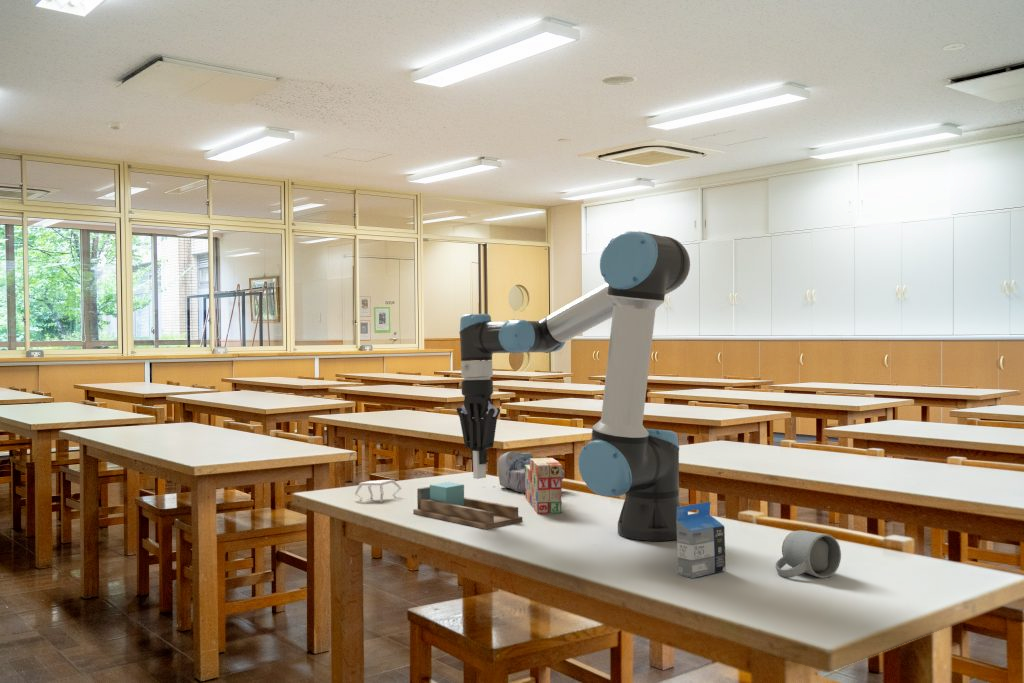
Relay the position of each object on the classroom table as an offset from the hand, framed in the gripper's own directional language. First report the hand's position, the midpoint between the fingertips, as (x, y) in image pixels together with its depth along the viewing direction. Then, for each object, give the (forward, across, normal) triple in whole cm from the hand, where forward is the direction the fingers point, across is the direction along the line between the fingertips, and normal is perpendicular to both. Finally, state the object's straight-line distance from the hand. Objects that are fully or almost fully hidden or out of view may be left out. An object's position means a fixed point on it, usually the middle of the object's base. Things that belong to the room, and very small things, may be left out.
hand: (479, 477), depth 202 cm
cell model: (+10, -20, +38) cm, 45 cm away
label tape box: (+12, +63, -4) cm, 64 cm away
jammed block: (+9, -12, 0) cm, 15 cm away
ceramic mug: (+13, +77, +8) cm, 78 cm away
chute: (+10, -5, 0) cm, 11 cm away
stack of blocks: (+10, -2, +24) cm, 26 cm away
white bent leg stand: (+9, -40, 0) cm, 41 cm away
